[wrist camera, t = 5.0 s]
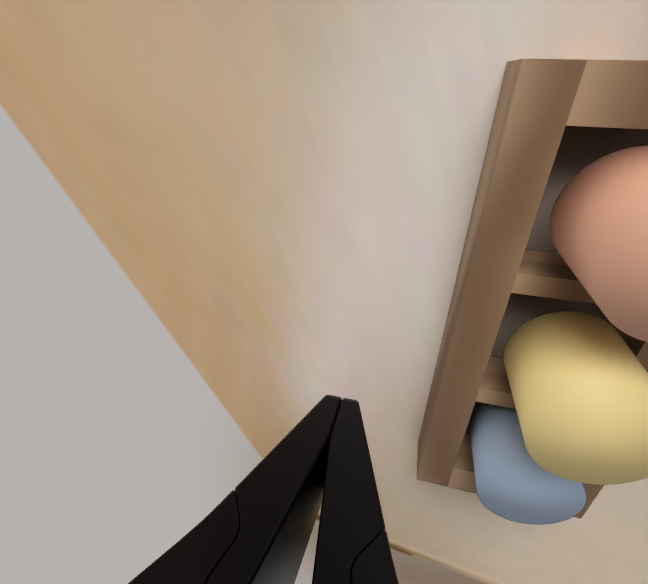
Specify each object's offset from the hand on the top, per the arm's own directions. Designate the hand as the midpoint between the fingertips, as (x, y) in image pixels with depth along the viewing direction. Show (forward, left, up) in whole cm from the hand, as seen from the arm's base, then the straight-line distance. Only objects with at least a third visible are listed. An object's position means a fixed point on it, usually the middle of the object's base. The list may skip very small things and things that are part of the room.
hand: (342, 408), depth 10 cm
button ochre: (-9, +4, -10) cm, 14 cm away
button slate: (-9, +11, -12) cm, 18 cm away
